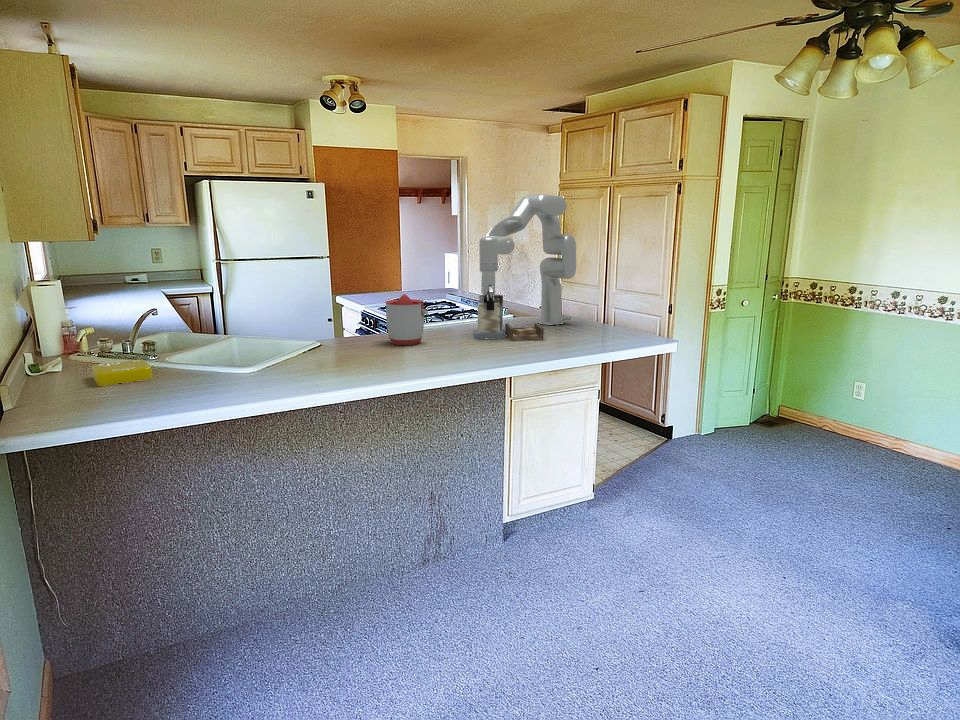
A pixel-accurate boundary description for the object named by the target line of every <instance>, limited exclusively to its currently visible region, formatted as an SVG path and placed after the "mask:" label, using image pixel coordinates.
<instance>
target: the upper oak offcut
mask: <svg viewBox="0 0 960 720" xmlns="http://www.w3.org/2000/svg"><path fill="white" fill-rule="evenodd" d="M524 328H525V329H515V335H517V336H525V335H536V329H533V328H530V327H524Z"/></svg>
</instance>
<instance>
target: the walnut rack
mask: <svg viewBox="0 0 960 720" xmlns="http://www.w3.org/2000/svg"><path fill="white" fill-rule="evenodd" d="M533 326H534V327H533ZM533 326H532V327H529V328H533V329H536V334H537V335H525V336H513V334H515V329H525V328H526V327H512V326H511V325H510V324H509V322H508V323H505V324H504V327H505V328H504V332H505V333H504V335H505V334H506V335H507V336H506V335H505V336H506V338H507V337H508V338H509V339H510V340H534V341H544V337H545V336H544V332H545V331H544V330H545V329H544V327H543V326H542V325H540V324H538V322H534V325H533ZM508 338H507V339H508ZM509 339H508V340H509ZM510 340H509V341H510Z"/></svg>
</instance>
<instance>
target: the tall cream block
mask: <svg viewBox="0 0 960 720" xmlns="http://www.w3.org/2000/svg"><path fill="white" fill-rule="evenodd" d="M477 330H478V332H479V333H493V332H500V304H499V303H494V310H487V309H486V303H479V302H477Z"/></svg>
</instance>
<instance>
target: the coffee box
mask: <svg viewBox="0 0 960 720" xmlns="http://www.w3.org/2000/svg"><path fill="white" fill-rule="evenodd" d="M478 298H479V300H478V301H479V302H478V303H484V298H485V297H484V295H483V294H482V295H479V296H478ZM494 303H499V304H500V330H502V331H503V325H504V324H503V319H504V316H503V315H504V314H503V313H504V312H503V311H504V307H503V306H504V295H503V294H502V295H501V294H495V295H494Z"/></svg>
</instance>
